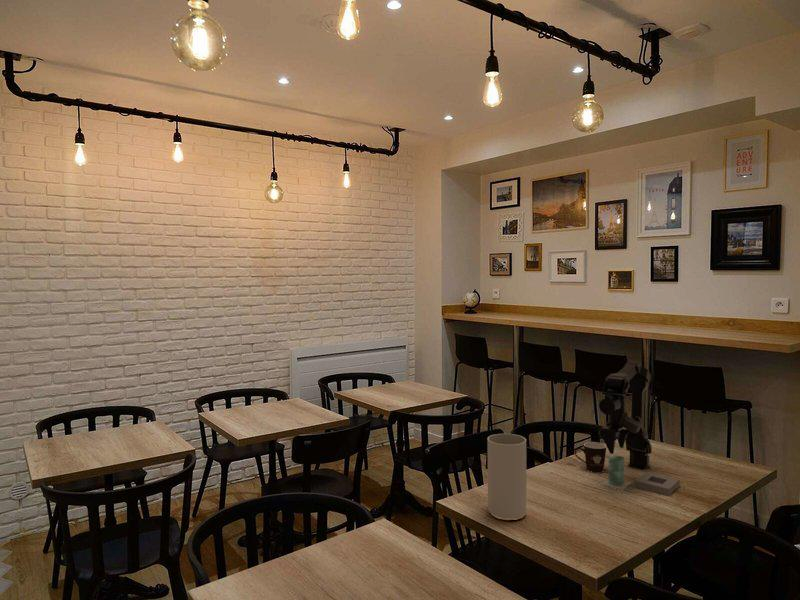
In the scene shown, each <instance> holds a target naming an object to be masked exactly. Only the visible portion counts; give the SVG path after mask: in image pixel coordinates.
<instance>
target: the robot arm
mask: <svg viewBox="0 0 800 600" xmlns="http://www.w3.org/2000/svg"><path fill="white" fill-rule="evenodd" d="M651 378H652V377H651V373H650V371H649V370H648V369H647V368H646V367H644V366H643V365H642V364H641V363H640V362H634V361H626V363H625V365H624V366H623V367H622V368H621V369H620V370H619V371H618V372H616V373H610V374H608V375H607V376H606V377H605V381H604V383H603V388H602V391H601V394H602V395H604V398H602V399H601V400H600V401H599V404H598V408H599V410H600V412H601V413H602V414H604V415H606V416H608V421H607V422H606V425H604V426H602V427H600V428H599V429H598V436H600V437H601V439H602V440H603V442H604V444H605V445H606V446H607V447H606V449H607V450H608V452H609V454H611V455H614V452H615V445H616V441H617V442H618V446H619V448H621V449H624V446H625V448H626V451H629V463H628V464H627V466H628V467H631V468H635V469H640V470H645V469H647V468H648V467H650V454H652V444H651V441H650V439H649V433H648V432H647V430H646V429H645V425H644V424H645V391H647V389H648V387H649V386H650V382H651ZM629 389H630V391H631V416H629V413H628V411H626V395H627V394H628V392H629Z"/></svg>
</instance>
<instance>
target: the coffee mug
mask: <svg viewBox="0 0 800 600" xmlns="http://www.w3.org/2000/svg"><path fill="white" fill-rule="evenodd" d="M579 450H581V451H582V452H583V453H584V458H585V460H584V459H582V458H581V457H579V456H578V454H577V451H579ZM606 453H607V446H606V444H605V443H601V442H595V441H589V442H585V443H583V448H582V447H576V448H575V450H574V455H575V457H576V458H577V459H578V460H580V461H581V462H583V463H585V465H586V466H585V467H586V471H588V470H589V471H588V472H590V471H592V472H591V473H594V472H600V473H603V472H604V471H603V470H604V468H605V463H606ZM602 471H603V472H602Z"/></svg>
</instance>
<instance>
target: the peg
mask: <svg viewBox="0 0 800 600" xmlns="http://www.w3.org/2000/svg"><path fill="white" fill-rule="evenodd" d="M624 472H625V458H624V456H621V455H617V454H611V456H609V457H608V479H609V484H612V485H616V486H621V485H622V484H624V482H625V477H624V475H625V473H624Z"/></svg>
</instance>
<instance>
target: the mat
mask: <svg viewBox="0 0 800 600" xmlns="http://www.w3.org/2000/svg"><path fill="white" fill-rule="evenodd" d="M602 485H605V486H604V487H606V486H608V487H607V488H610V487H612V488H611V489H614V488H616V489H615V490H618V489H620V490H619V491H621V490H623V491H624V490H626V489H627V488H628V487H630V486H631V485H632V483H631V482H628V481H624V484H622V485H621V486H616V485H612V484H609V478H608V479H606V480H605V481H603V482H602V483H600V486H602ZM629 485H630V486H629ZM626 487H627V488H626ZM625 488H626V489H625Z"/></svg>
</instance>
